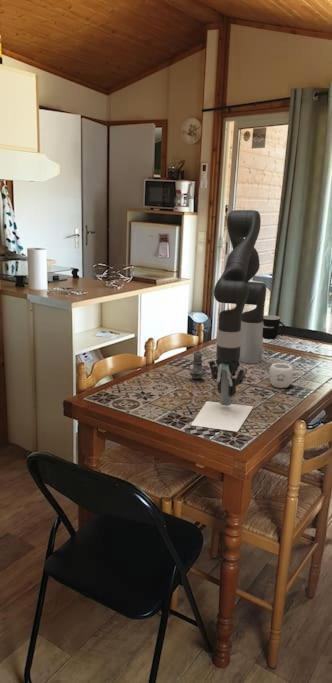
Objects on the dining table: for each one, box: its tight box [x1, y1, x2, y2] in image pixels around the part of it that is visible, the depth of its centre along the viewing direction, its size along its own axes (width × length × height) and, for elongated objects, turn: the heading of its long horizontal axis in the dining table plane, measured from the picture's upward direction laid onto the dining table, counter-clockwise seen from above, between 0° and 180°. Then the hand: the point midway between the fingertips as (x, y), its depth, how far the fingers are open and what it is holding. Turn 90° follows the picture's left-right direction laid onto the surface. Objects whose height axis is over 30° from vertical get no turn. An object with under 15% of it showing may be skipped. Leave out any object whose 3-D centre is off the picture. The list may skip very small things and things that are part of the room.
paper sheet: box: [190, 400, 254, 433], centre depth 172 cm, size 24×29×1 cm
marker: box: [219, 363, 233, 406], centre depth 174 cm, size 4×4×14 cm
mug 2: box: [268, 362, 304, 389], centre depth 196 cm, size 12×8×8 cm
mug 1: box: [262, 314, 286, 340], centre depth 262 cm, size 12×9×10 cm
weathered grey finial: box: [189, 349, 206, 384], centre depth 200 cm, size 6×6×12 cm
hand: (226, 394), depth 175 cm, fingers closed on marker, 3 cm apart
